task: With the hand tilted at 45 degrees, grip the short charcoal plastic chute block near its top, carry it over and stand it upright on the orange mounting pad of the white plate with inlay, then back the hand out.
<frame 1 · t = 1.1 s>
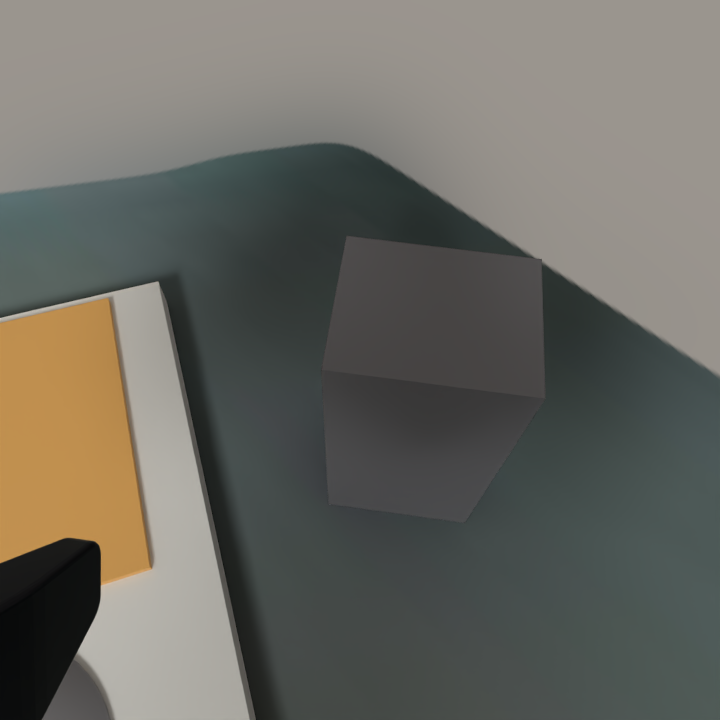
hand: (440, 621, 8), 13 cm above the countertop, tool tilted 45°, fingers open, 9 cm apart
chute block: (401, 462, 23), on the countertop
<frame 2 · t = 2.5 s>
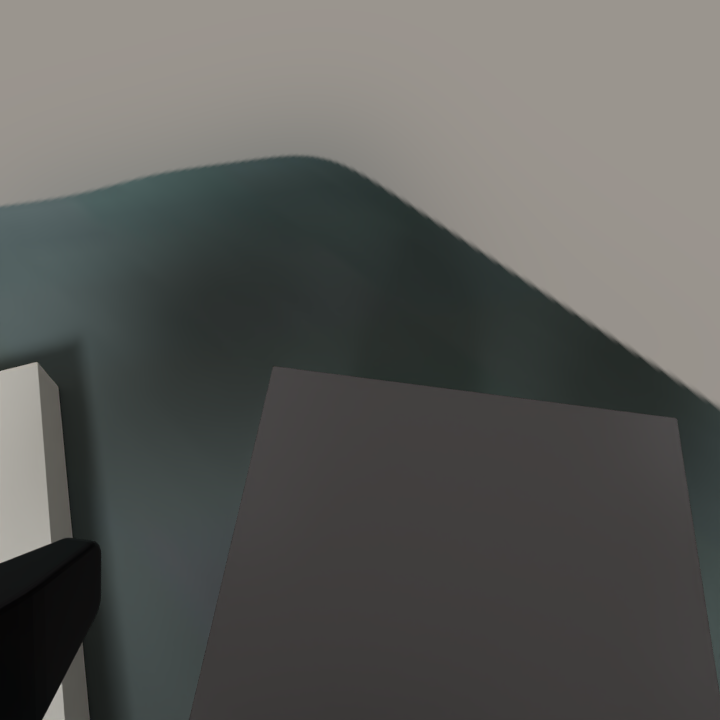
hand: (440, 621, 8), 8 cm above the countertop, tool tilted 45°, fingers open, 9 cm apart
chute block: (392, 649, 15), on the countertop
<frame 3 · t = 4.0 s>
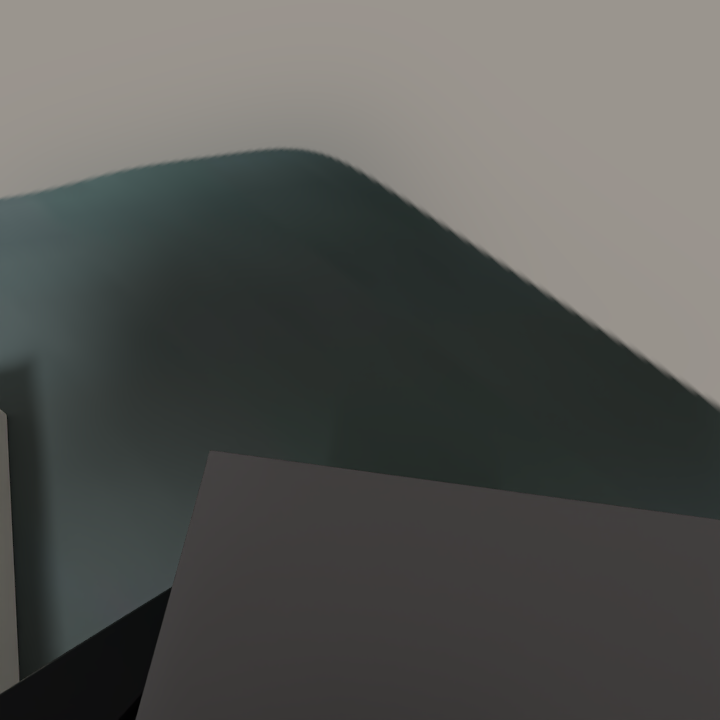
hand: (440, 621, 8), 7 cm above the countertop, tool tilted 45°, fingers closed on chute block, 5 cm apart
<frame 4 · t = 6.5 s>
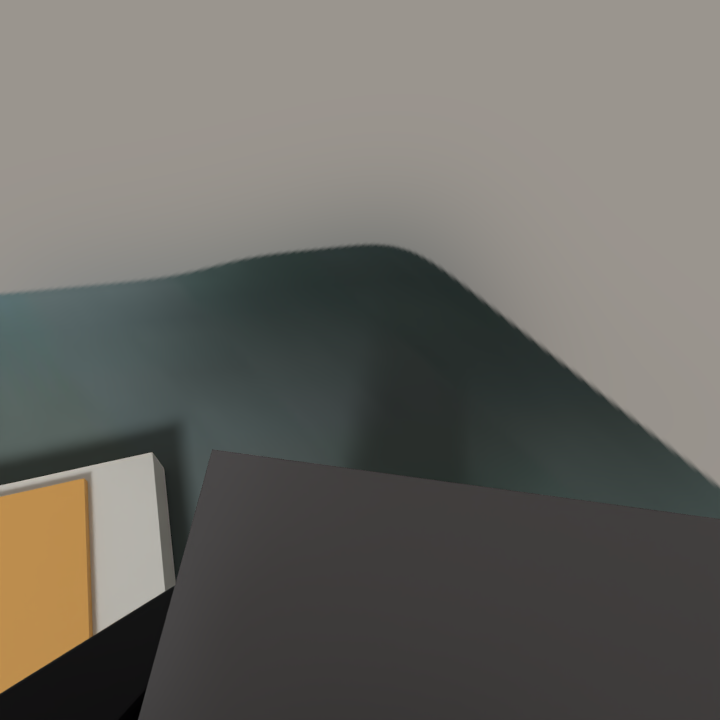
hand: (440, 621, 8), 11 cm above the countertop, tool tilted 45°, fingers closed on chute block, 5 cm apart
when the fingers open (9 cm above the countertop, at t = 9.0 s): chute block stays where it is, resting on white plate with inlay.
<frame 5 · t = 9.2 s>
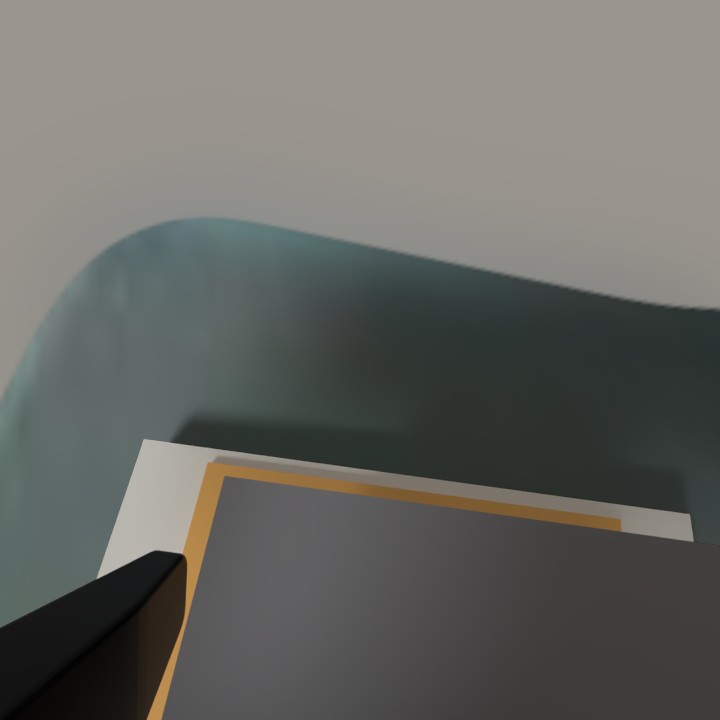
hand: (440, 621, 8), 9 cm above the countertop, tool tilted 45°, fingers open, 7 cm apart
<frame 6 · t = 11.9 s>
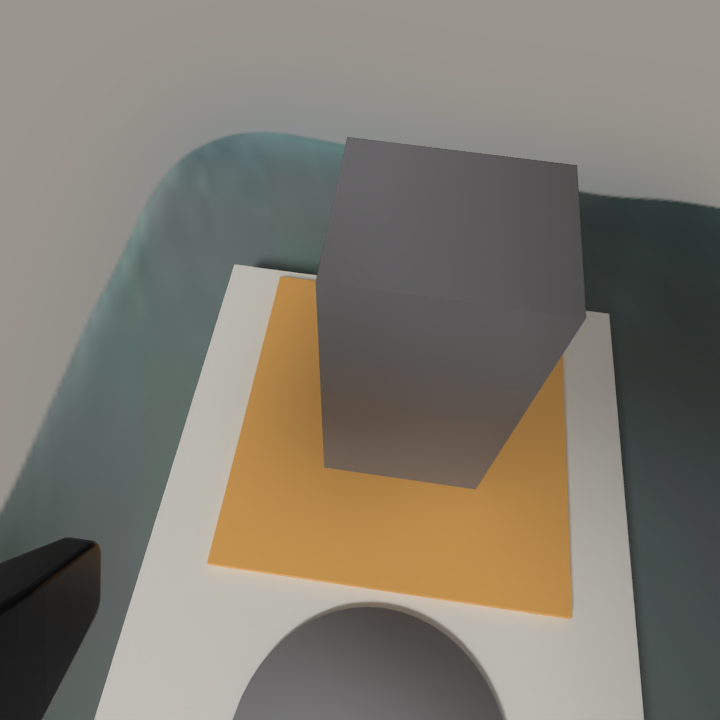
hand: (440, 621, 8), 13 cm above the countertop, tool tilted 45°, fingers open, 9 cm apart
chute block: (405, 422, 21), point 2 cm above the countertop, touching white plate with inlay
white plate with inlay: (400, 442, 22), on the countertop
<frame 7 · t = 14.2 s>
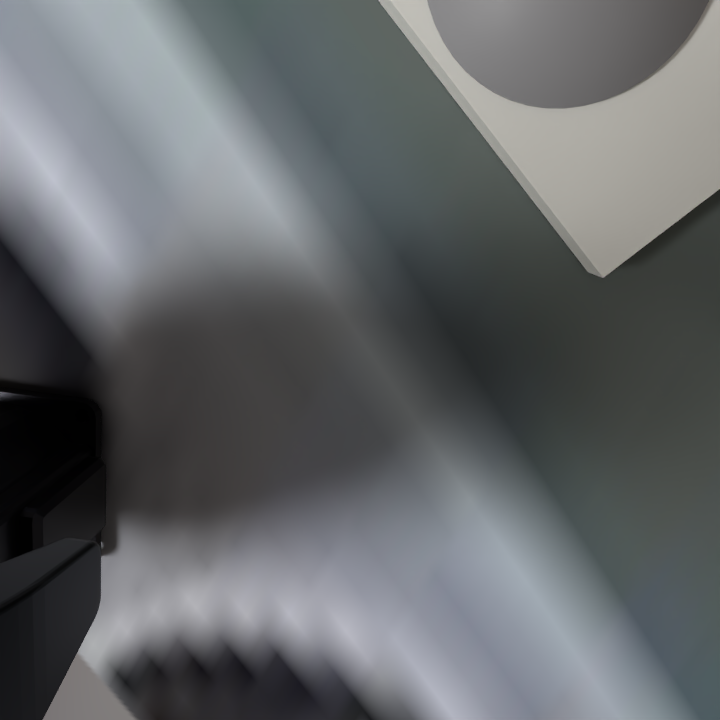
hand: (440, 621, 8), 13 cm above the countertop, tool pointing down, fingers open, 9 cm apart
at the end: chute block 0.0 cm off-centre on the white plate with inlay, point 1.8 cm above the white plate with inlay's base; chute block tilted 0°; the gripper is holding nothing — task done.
